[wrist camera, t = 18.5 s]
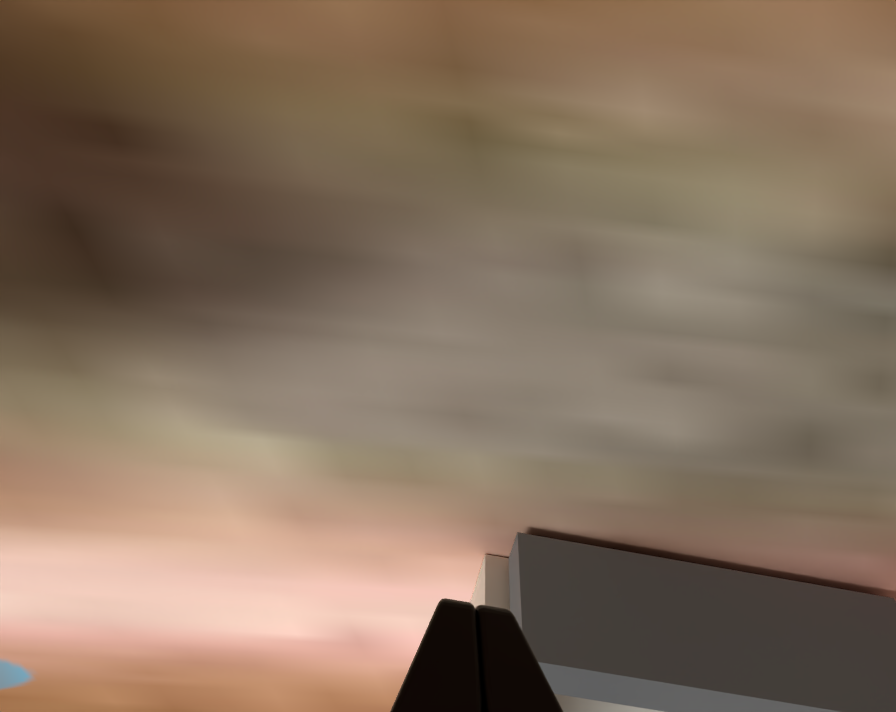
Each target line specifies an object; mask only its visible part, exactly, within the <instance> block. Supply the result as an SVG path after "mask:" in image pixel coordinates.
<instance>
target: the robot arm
mask: <svg viewBox="0 0 896 712" xmlns="http://www.w3.org/2000/svg"><path fill="white" fill-rule="evenodd" d="M390 712H563V710H562V708H561V706H560V704H559V702H558V700H557V698H556V696H555V694H554V692H553V690H552V688H551V687H550V685H549V683H548V681H547V679H546V677H545V675H544V673H543V671H542V669H541V667H540V665H539V663H538V661H537V659H536V657H535V655H534V653H533V651H532V649H531V647H530V645H529V643H528V642H527V640H526V638H525V636H524V634H523V632H522V630H521V628H520V626H519V624H518V622H517V620H516V618H515V616H514V615H513V613H512V612H511V611H509V610H507V609H505V608H499V607H493V606H487V605H478V606H477V607H476V608H475V607H474V605H473V604H471V603H469V602H463V601H457V600H451V599H442V600H441V601H440V602H439V603H438V605H437V607H436V610H435V612H434V614H433V616H432V619H431V621H430V623H429V625H428V628H427V630H426V632H425V634H424V637H423V639H422V641H421V643H420V646H419V648H418V650H417V652H416V655H415V657H414V659H413V661H412V664H411V666H410V668H409V670H408V673H407V675H406V677H405V679H404V682H403V684H402V686H401V688H400V691H399V693H398V695H397V697H396V700H395V702H394V704H393V706H392V709H391V711H390Z"/></svg>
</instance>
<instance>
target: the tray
mask: <svg viewBox="0 0 896 712" xmlns="http://www.w3.org/2000/svg"><path fill="white" fill-rule="evenodd" d="M509 589H510V611H511V612H512V613H513V615H514V616H515V618H516V620H517V622H518V624H519V626H520V628H521V630H522V632H523V634H524V636H525V638H526V640H527V642H528V643H529V645H530V647H531V649H532V651H533V653H534V655H535V657H536V659H537V661H538V663H539V665H540V667H541V669H542V671H543V673H544V675H545V677H546V679H547V681H548V683H549V685H550V687H551V688H552V690H553V692H554V694H555V696H556V698H557V700H558V702H559V704H560V706H561V708H562V710H563V712H896V601H895V600H894V598H890V597H884V596H878V595H873V594H867V593H861V592H856V591H850V590H844V589H838V588H833V587H827V586H821V585H816V584H810V583H804V582H798V581H793V580H787V579H781V578H776V577H770V576H764V575H758V574H753V573H747V572H741V571H736V570H730V569H724V568H718V567H713V566H707V565H701V564H696V563H690V562H684V561H678V560H673V559H667V558H661V557H655V556H650V555H644V554H638V553H633V552H627V551H621V550H615V549H610V548H604V547H598V546H593V545H587V544H581V543H575V542H570V541H564V540H558V539H553V538H547V537H541V536H535V535H530V534H524V533H518V532H517V535H516V538H515V541H514V544H513V547H512V550H511V553H510V556H509Z"/></svg>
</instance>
